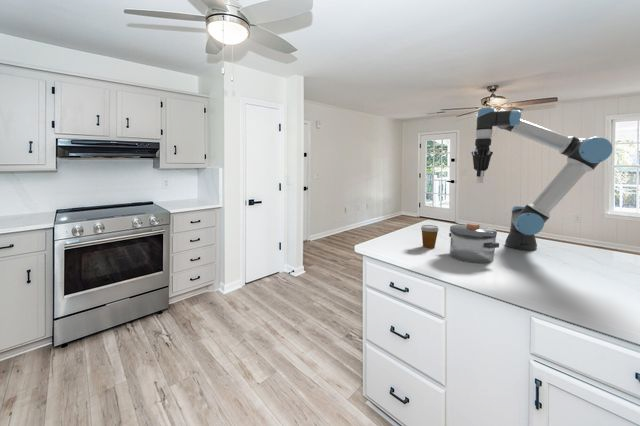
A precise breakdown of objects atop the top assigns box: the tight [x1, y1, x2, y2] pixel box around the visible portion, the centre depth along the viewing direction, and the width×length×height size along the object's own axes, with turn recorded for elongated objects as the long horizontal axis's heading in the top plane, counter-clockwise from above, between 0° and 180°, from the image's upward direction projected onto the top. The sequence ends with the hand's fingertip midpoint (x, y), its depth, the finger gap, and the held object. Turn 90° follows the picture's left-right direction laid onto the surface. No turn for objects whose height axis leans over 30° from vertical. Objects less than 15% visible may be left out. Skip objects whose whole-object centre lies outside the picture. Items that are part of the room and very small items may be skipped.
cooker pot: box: [448, 232, 500, 264], centre depth 151 cm, size 22×25×12 cm
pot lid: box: [449, 222, 498, 238], centre depth 150 cm, size 21×21×4 cm
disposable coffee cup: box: [420, 224, 440, 250], centre depth 169 cm, size 10×10×12 cm
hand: (479, 182), depth 164 cm, fingers closed
